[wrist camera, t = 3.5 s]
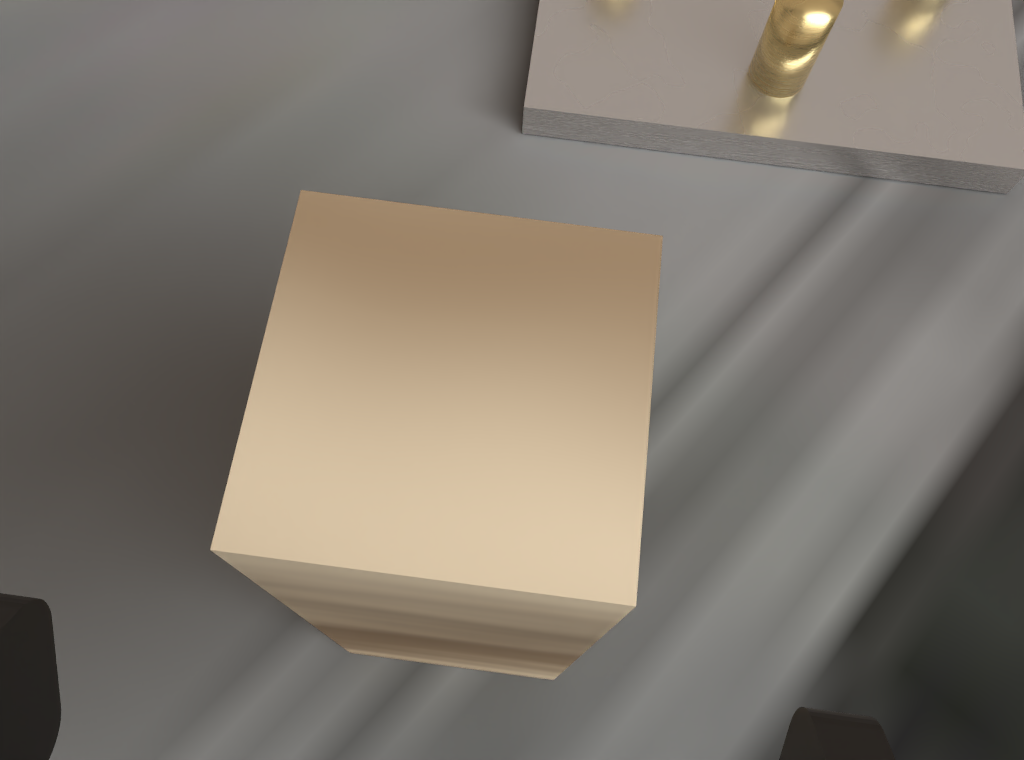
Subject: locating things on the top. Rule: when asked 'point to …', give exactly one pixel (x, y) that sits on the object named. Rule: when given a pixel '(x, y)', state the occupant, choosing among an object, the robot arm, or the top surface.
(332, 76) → the top surface
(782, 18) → the plate
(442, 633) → the block
